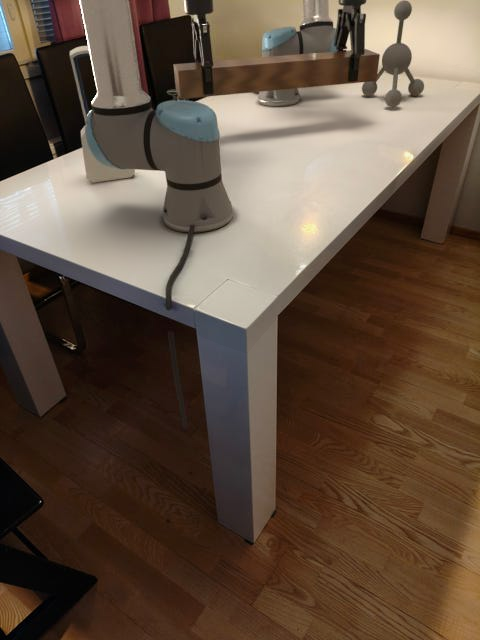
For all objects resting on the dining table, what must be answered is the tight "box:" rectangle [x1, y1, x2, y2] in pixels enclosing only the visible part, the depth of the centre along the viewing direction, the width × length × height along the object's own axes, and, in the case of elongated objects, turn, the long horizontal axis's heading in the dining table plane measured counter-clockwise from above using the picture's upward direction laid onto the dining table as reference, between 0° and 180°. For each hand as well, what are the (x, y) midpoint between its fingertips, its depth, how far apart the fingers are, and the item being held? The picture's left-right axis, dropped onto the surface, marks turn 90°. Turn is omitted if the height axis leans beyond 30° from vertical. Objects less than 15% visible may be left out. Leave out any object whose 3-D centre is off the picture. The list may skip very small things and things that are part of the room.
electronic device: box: [69, 45, 136, 184], centre depth 120 cm, size 12×8×30 cm, turn 105°
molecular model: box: [361, 0, 425, 108], centre depth 166 cm, size 24×22×30 cm
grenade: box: [166, 89, 190, 101], centre depth 162 cm, size 7×6×10 cm
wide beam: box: [173, 48, 381, 100], centre depth 141 cm, size 59×9×7 cm, turn 104°
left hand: (205, 90), depth 139 cm, fingers closed on wide beam, 9 cm apart
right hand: (346, 77), depth 146 cm, fingers closed on wide beam, 9 cm apart
